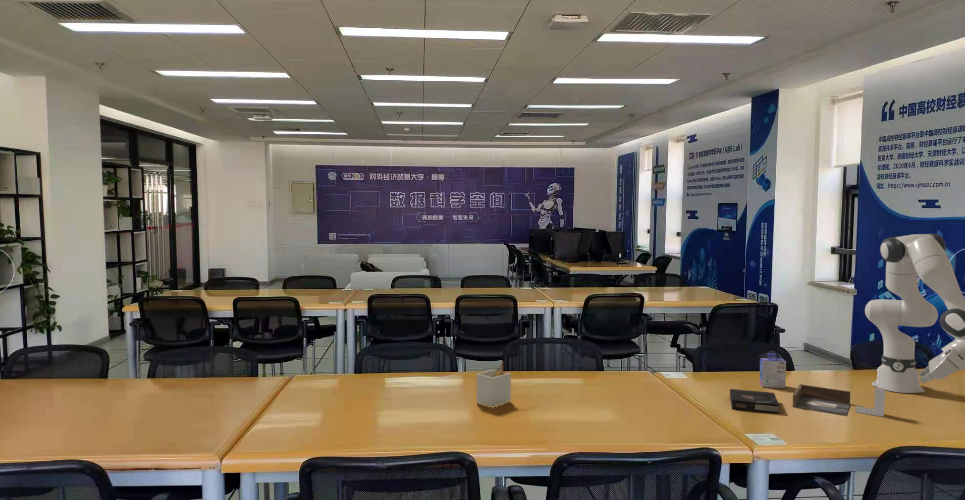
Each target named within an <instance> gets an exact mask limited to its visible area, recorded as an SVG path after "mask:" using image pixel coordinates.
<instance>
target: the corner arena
mask: <svg viewBox="0 0 965 500" xmlns="http://www.w3.org/2000/svg"><path fill="white" fill-rule="evenodd" d="M850 406H851V391H849V390H842V389H835V388H829V387H821V386H814V385H809V384H807V385H806V384H802V383H799V385H798V387H797V388H796V390H795V391H794V392H793V394H792V408H796V409H803V410H807V411H808V410H809V411H813V412H814V411H815V412H822V413H827V414H832V415H833V414H834V415H837V416H838V415H839V416H845V417H846V416H847V415H848V414H847V413H848V412H849V409H850Z"/></svg>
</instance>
